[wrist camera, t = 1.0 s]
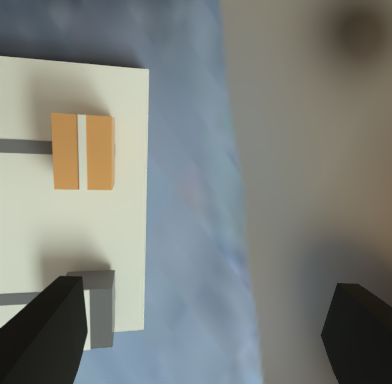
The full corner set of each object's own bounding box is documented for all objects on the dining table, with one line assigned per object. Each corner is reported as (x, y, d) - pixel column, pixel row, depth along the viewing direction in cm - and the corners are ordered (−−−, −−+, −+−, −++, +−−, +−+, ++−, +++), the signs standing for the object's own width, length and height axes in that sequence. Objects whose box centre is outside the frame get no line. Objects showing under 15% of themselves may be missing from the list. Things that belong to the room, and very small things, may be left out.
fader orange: (114, 182, 19) (111, 190, 17) (64, 181, 19) (53, 189, 16) (114, 117, 18) (111, 116, 16) (62, 114, 18) (50, 112, 15)
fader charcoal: (115, 322, 21) (112, 348, 19) (69, 326, 21) (60, 352, 18) (115, 270, 20) (112, 289, 18) (67, 271, 20) (58, 291, 17)
